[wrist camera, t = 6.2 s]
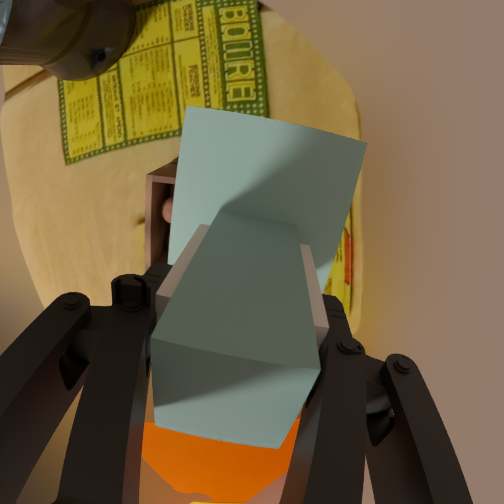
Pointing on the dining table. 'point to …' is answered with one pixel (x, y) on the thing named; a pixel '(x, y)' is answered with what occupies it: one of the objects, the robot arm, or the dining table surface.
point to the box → (159, 213)
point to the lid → (248, 273)
